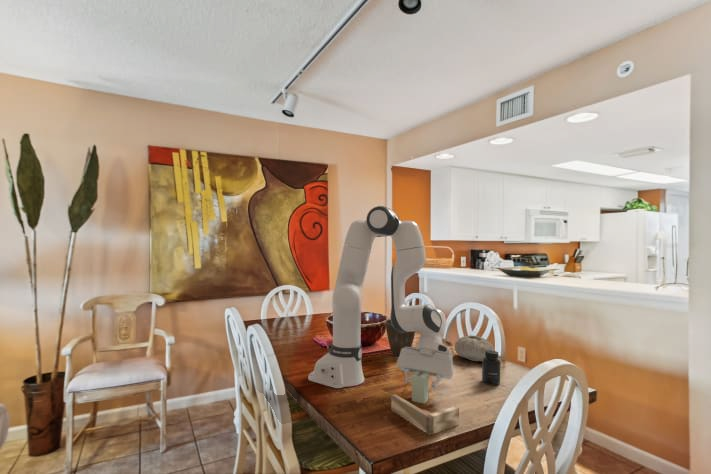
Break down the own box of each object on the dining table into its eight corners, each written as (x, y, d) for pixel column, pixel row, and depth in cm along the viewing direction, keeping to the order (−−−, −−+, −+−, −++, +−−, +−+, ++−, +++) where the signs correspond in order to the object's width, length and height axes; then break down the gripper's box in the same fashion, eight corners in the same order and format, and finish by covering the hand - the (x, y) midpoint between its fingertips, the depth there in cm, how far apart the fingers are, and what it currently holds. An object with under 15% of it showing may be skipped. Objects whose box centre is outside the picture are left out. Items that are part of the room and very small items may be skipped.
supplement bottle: (491, 387, 141) (491, 355, 141) (478, 380, 147) (478, 350, 147) (504, 383, 144) (504, 353, 144) (490, 377, 150) (490, 348, 150)
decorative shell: (502, 360, 172) (502, 339, 172) (478, 368, 162) (478, 345, 162) (470, 350, 186) (470, 331, 186) (446, 357, 176) (446, 336, 176)
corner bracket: (419, 401, 128) (419, 387, 128) (459, 424, 112) (459, 407, 112) (391, 410, 121) (391, 395, 121) (429, 435, 106) (429, 417, 106)
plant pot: (416, 351, 185) (416, 319, 185) (416, 361, 170) (416, 326, 170) (386, 349, 187) (386, 318, 187) (383, 359, 173) (383, 324, 173)
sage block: (416, 396, 132) (416, 370, 133) (428, 398, 130) (428, 372, 130) (411, 400, 128) (411, 374, 129) (424, 403, 126) (424, 376, 126)
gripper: (400, 341, 141) (390, 375, 132) (454, 349, 131) (447, 386, 123) (404, 350, 145) (394, 383, 136) (457, 358, 135) (450, 394, 126)
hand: (420, 385), depth 129 cm, fingers open, 8 cm apart
